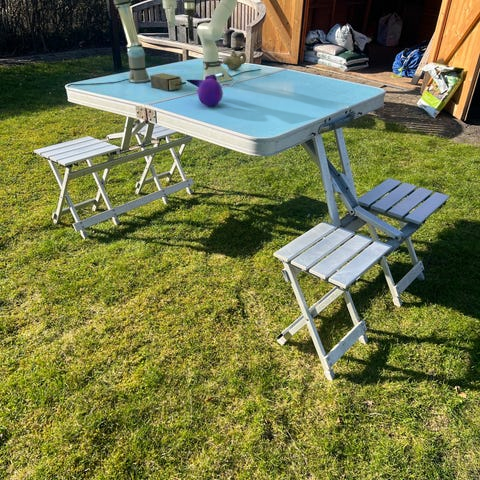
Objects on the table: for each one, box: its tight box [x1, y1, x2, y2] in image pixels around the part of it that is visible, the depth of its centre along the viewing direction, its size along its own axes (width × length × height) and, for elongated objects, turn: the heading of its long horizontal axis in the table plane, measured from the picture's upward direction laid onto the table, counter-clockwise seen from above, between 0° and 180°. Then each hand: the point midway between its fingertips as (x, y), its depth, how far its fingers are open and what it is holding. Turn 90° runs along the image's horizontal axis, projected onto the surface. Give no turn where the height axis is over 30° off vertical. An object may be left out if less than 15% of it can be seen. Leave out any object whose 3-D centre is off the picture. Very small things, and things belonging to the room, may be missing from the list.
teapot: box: [222, 50, 247, 71], centre depth 368 cm, size 21×12×15 cm, turn 120°
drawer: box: [168, 77, 187, 91], centre depth 311 cm, size 24×10×6 cm, turn 44°
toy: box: [185, 75, 224, 107], centre depth 270 cm, size 16×18×27 cm
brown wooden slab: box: [149, 72, 182, 92], centre depth 314 cm, size 20×11×8 cm, turn 44°
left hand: (191, 40), depth 344 cm, fingers open, 13 cm apart
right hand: (171, 28), depth 297 cm, fingers open, 8 cm apart
